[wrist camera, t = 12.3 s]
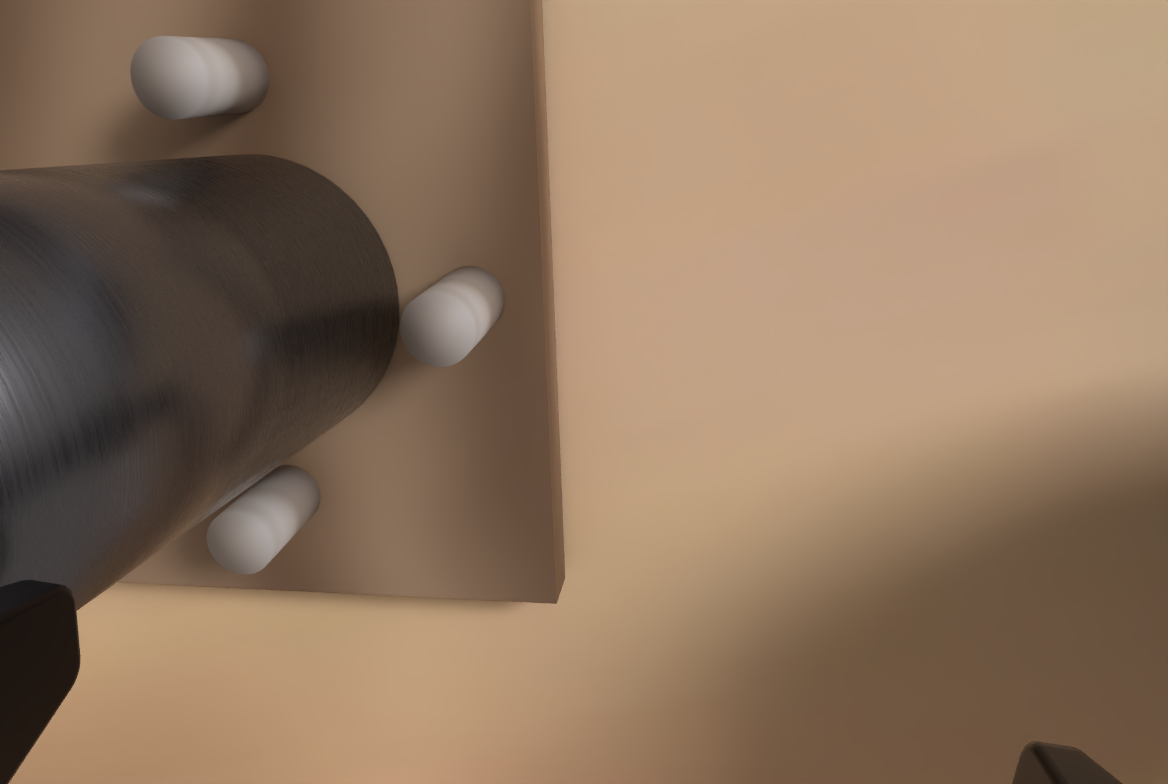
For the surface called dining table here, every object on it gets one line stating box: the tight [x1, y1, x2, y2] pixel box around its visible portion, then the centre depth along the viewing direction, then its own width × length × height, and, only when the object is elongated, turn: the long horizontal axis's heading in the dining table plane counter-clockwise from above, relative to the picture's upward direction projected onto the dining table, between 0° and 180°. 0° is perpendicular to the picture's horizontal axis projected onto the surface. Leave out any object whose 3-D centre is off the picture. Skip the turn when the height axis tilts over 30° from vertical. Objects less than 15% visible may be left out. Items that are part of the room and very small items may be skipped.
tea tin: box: [0, 154, 400, 611], centre depth 15 cm, size 6×6×13 cm
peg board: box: [0, 0, 565, 604], centre depth 20 cm, size 12×14×4 cm
